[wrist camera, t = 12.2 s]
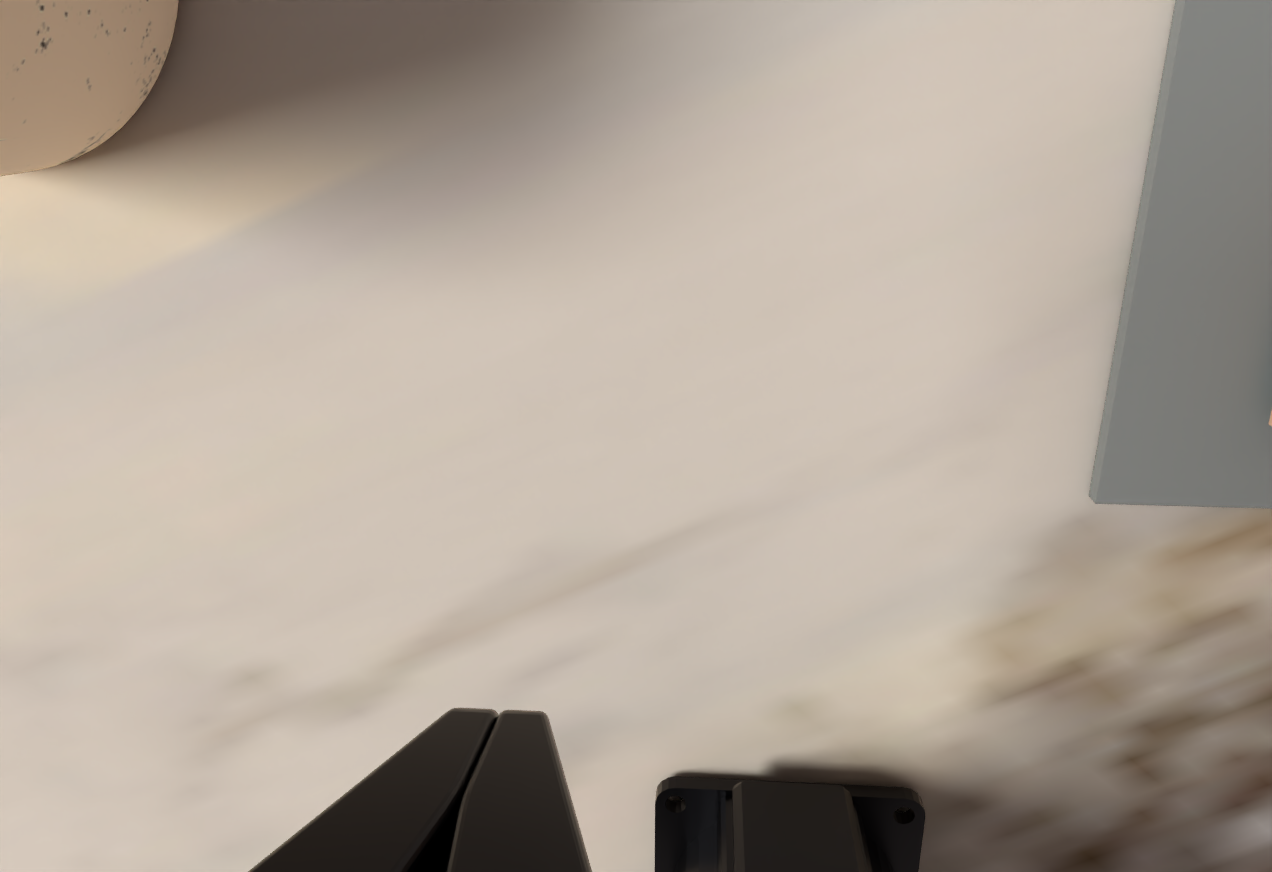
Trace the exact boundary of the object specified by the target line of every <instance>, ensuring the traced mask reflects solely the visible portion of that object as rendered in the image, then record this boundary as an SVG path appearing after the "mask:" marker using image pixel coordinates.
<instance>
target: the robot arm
mask: <svg viewBox="0 0 1272 872" xmlns="http://www.w3.org/2000/svg"><path fill="white" fill-rule="evenodd" d="M672 796H678V797H682V798H683V800H682V801H677V802H676V801H672V800H670V799H669V798H670V797H672ZM901 807H908V808H910V809H909V810H907V811H906V812H897V811H895V810H897V809H898V808H901ZM924 822H925V811H924V807H923V804H922V800H921V798H920V796H919V795H918V793H916V792H915V791H913V790H912V789H908V788H904V787H885V786H863V785H842V784H821V783H799V782H778V781H757V780H735V779H714V778H693V777H670V778H667V779H665V780H663V781H662V782H661V783H660V784H659V785H658V787H657V791H656V801H655V872H918V869H919V861H920V853H921V845H922V837H923V830H924ZM248 872H592V870H591V867H590V863H589V860H588V856H587V853H586V849H585V845H584V842H583V838H582V835H581V831H580V828H579V824H578V821H577V817H576V814H575V810H574V807H573V803H572V800H571V796H570V792H569V789H568V785H567V782H566V778H565V775H564V771H563V768H562V764H561V761H560V757H559V754H558V750H557V747H556V743H555V740H554V736H553V732H552V729H551V725H550V722H549V719H548V716H547V715H546V714H545V713H544V712H541V711H523V710H505V711H503V712H501V713H500V714H499V715H498V713H497V712H496V711H495V710H492V709H476V708H454V709H451V710H449V711H448V712H446V713H445V714H444V715H442V716H441V717H440V718H439V719H438V720H436V721H435V722H434V723H433V724H431V725H430V726H429V727H428V728H426V729H425V730H424V731H423V732H421V733H420V734H419V735H418V736H416V737H415V738H414V739H413V740H411V741H410V742H409V743H408V744H406V745H405V746H404V747H403V748H401V749H400V750H399V751H398V752H396V753H395V754H394V755H393V756H391V757H390V758H389V759H388V760H386V761H385V762H384V763H383V764H382V765H380V766H379V767H378V768H377V769H375V770H374V771H373V772H372V773H370V774H369V775H368V776H367V777H365V778H364V779H363V780H362V781H360V782H359V783H358V784H357V785H355V786H354V787H353V788H352V789H350V790H349V791H348V792H347V793H345V794H344V795H343V796H342V797H340V798H339V799H338V800H337V801H335V802H334V803H333V804H332V805H331V806H329V807H328V808H327V809H326V810H324V811H323V812H322V813H321V814H319V815H318V816H317V817H316V818H314V819H313V820H312V821H311V822H309V823H308V824H307V825H306V826H304V827H303V828H302V829H301V830H299V831H298V832H297V833H296V834H294V835H293V836H292V837H291V838H289V839H288V840H287V841H286V842H284V843H283V844H282V845H281V846H280V847H278V848H277V849H276V850H275V851H273V852H272V853H271V854H270V855H268V856H267V857H266V858H265V859H263V860H262V861H261V862H260V863H258V864H257V865H256V866H255V867H253V868H252V869H251V870H250V871H248Z"/></svg>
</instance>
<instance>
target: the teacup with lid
mask: <svg viewBox="0 0 1272 872" xmlns="http://www.w3.org/2000/svg"><path fill="white" fill-rule="evenodd" d="M178 2H179V0H0V176H5V175H12V174H18V173H24V172H31V171H36V170H41V169H45V168H49V167H53V166H56V165H59V164H62V163H65V162H67V161H70V160H73V159H75V158H77V157H79V156H81V155H83V154H85V153H87V152H89V151H91V150H93V149H94V148H96V147H97V146H99V145H100V144H102V143H103V142H105V141H106V140H108V139H109V138H110V137H111V136H112V135H114V134H115V133H116V132H117V131H118V130H119V129H121V128H122V127H123V126H124V125H125V123H126V122H127V121H128V120H129V119H130V118H131V117H132V116H133V115H134V114H135V113H136V111H137V110H138V108H139V107H140V106H141V104H142V103H143V102H144V100H145V99H146V97H147V96H148V94H149V92H150V91H151V89H152V87H153V85H154V83H155V82H156V80H157V78H158V76H159V74H160V71H161V69H162V67H163V64H164V62H165V60H166V57H167V54H168V51H169V47H170V44H171V41H172V38H173V33H174V28H175V23H176V18H177V11H178Z"/></svg>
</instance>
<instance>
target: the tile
mask: <svg viewBox="0 0 1272 872" xmlns="http://www.w3.org/2000/svg"><path fill="white" fill-rule="evenodd" d="M1269 425H1270V426H1272V411H1271V415H1270V419H1269Z"/></svg>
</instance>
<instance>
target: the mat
mask: <svg viewBox="0 0 1272 872" xmlns="http://www.w3.org/2000/svg"><path fill="white" fill-rule="evenodd" d="M1271 411H1272V0H1176V1H1175V7H1174V12H1173V18H1172V24H1171V30H1170V35H1169V41H1168V47H1167V52H1166V58H1165V64H1164V69H1163V75H1162V81H1161V87H1160V92H1159V98H1158V104H1157V109H1156V115H1155V121H1154V126H1153V132H1152V138H1151V144H1150V149H1149V155H1148V161H1147V166H1146V172H1145V178H1144V184H1143V189H1142V195H1141V201H1140V206H1139V212H1138V218H1137V223H1136V229H1135V235H1134V241H1133V246H1132V252H1131V258H1130V263H1129V269H1128V275H1127V280H1126V286H1125V292H1124V298H1123V303H1122V309H1121V315H1120V320H1119V326H1118V332H1117V337H1116V343H1115V349H1114V355H1113V360H1112V366H1111V372H1110V377H1109V383H1108V389H1107V395H1106V400H1105V406H1104V412H1103V417H1102V423H1101V429H1100V434H1099V440H1098V446H1097V452H1096V457H1095V463H1094V469H1093V474H1092V480H1091V486H1090V491H1089V497H1090V498H1091V499H1092V500H1093V501H1094V503H1095V504H1127V505H1163V506H1199V507H1235V508H1271V509H1272V426H1270V425H1269V419H1270V415H1271Z"/></svg>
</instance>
